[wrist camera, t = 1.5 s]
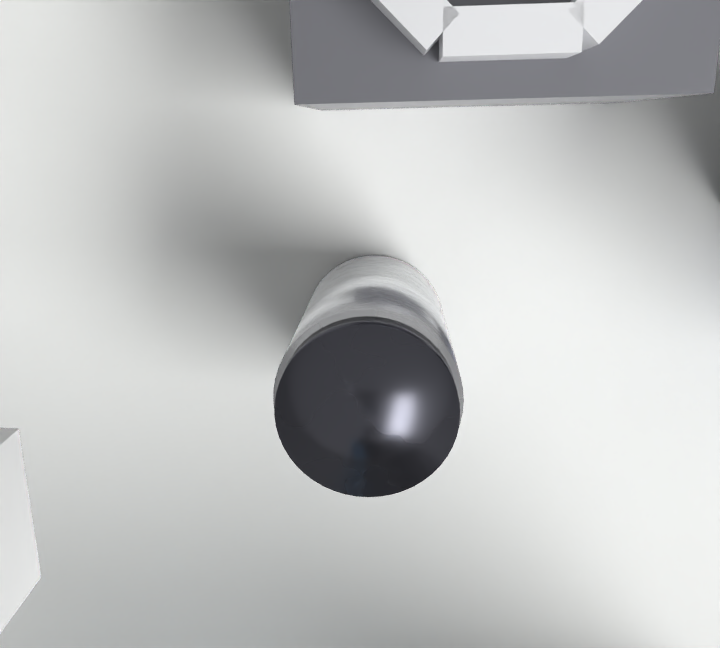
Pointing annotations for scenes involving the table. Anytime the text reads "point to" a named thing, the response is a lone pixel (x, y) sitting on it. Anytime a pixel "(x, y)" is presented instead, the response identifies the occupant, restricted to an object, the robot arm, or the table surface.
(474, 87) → the camera body
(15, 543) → the robot arm
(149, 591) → the table surface
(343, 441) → the lens
